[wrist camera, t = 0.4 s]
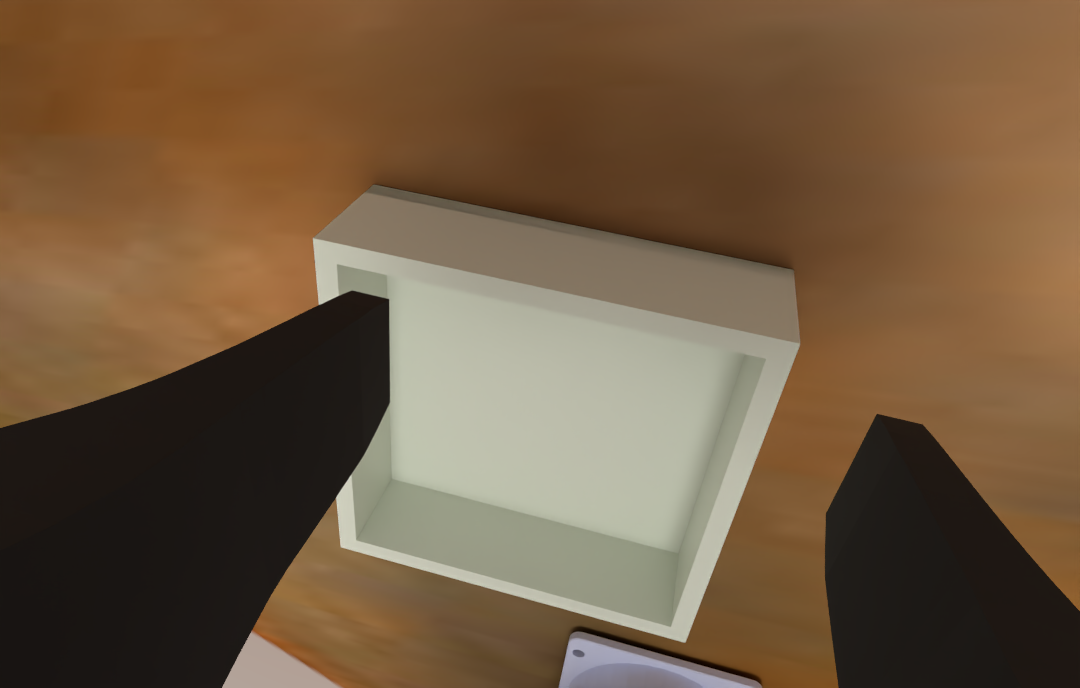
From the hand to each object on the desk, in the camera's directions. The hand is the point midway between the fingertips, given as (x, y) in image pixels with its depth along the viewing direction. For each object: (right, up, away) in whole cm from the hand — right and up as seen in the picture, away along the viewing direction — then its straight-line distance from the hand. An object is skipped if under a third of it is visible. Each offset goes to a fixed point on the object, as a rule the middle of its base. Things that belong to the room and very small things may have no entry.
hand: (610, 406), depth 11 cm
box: (-1, -1, +13) cm, 13 cm away
